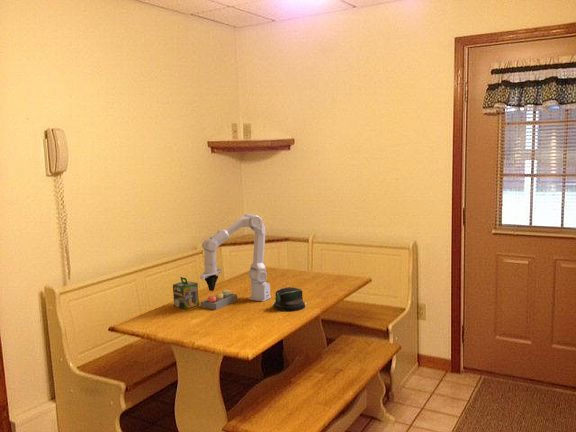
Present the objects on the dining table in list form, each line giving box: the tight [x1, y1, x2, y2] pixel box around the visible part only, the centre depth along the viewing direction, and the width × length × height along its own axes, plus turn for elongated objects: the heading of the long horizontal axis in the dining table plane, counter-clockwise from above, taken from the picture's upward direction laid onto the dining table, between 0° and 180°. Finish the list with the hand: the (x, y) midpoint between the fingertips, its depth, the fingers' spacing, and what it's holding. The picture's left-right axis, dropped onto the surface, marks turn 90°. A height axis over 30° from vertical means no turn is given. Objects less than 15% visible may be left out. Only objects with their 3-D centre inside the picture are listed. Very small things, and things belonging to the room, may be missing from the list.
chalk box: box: [172, 276, 200, 310], centre depth 269 cm, size 9×9×15 cm
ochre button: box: [214, 292, 223, 300], centre depth 272 cm, size 4×4×3 cm
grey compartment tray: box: [200, 293, 238, 311], centre depth 272 cm, size 9×18×3 cm, turn 151°
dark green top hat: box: [272, 286, 307, 313], centre depth 264 cm, size 20×20×9 cm
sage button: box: [221, 289, 231, 297], centre depth 277 cm, size 4×4×3 cm
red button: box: [207, 295, 216, 303], centre depth 266 cm, size 4×4×3 cm
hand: (211, 290), depth 266 cm, fingers closed
